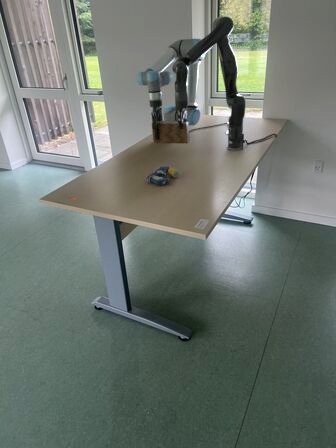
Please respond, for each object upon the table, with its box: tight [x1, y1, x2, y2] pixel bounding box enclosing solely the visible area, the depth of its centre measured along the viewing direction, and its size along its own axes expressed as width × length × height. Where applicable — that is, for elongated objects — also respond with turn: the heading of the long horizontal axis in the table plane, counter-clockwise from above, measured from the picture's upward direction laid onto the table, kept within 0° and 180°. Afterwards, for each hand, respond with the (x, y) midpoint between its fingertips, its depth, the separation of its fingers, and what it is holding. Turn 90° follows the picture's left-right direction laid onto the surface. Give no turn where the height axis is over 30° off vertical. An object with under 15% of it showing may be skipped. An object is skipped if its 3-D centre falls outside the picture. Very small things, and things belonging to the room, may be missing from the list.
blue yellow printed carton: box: [146, 164, 180, 186], centre depth 185 cm, size 21×4×15 cm
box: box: [151, 120, 190, 145], centre depth 206 cm, size 22×6×12 cm, turn 74°
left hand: (159, 137), depth 210 cm, fingers closed on box, 6 cm apart
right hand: (182, 127), depth 202 cm, fingers open, 8 cm apart
